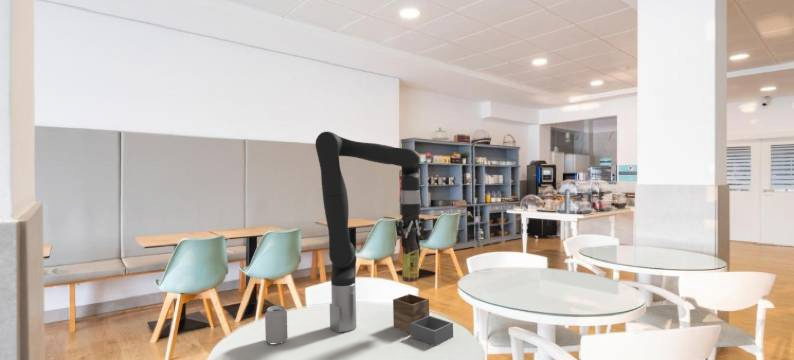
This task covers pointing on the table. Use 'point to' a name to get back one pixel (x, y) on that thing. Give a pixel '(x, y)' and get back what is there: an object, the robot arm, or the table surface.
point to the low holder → (432, 330)
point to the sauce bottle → (410, 258)
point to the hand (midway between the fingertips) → (410, 246)
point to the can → (276, 324)
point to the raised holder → (409, 311)
